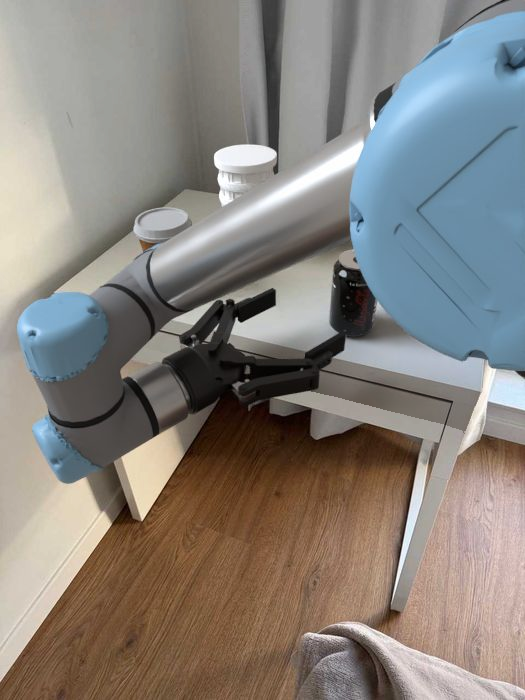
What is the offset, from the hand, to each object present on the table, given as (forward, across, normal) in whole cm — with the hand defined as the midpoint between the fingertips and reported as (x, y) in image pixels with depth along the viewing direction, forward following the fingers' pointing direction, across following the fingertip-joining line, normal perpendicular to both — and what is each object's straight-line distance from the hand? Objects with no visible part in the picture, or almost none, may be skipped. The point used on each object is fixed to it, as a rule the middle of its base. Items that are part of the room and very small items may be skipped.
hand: (306, 317), depth 68 cm
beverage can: (+10, 0, -7) cm, 12 cm away
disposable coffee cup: (-4, -30, -7) cm, 31 cm away
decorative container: (+14, -30, -7) cm, 34 cm away
